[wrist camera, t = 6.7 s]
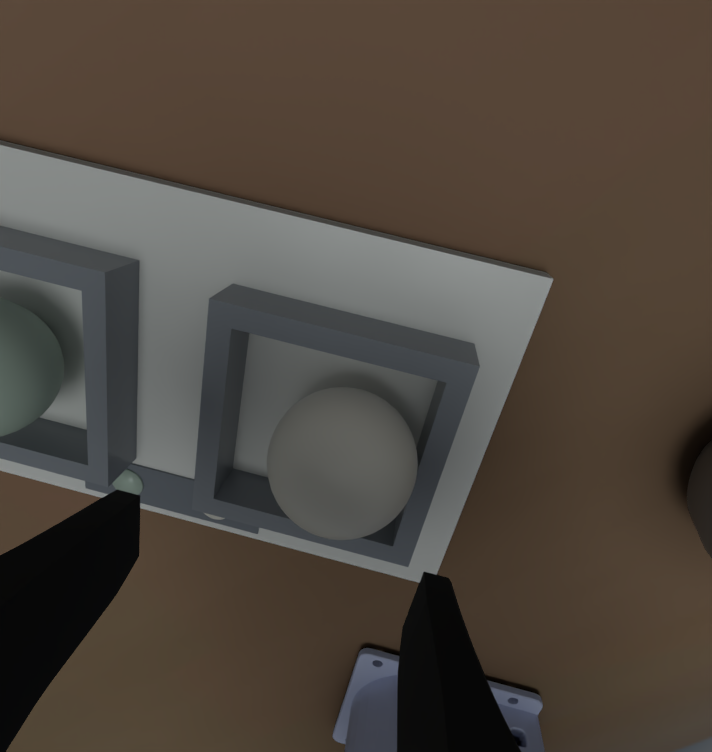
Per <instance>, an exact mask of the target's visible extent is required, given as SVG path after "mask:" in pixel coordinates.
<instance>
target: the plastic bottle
mask: <svg viewBox="0 0 712 752" xmlns="http://www.w3.org/2000/svg"><path fill="white" fill-rule="evenodd" d="M686 496H687V506H688V510H689V513H690V516H691V518H692V521H693V523H694V525H695V527H696V530H697V532H698V534H699V537H700V539H701V541H702V543H703V546H704V548H705V550H706V551H707V553H708V554H709V555H710V557H711V558H712V440H711V441H710V442H709V443H708V444H707V445H706V446H705V447H704V448H703V450H702V451H701V453H700V454H699V456H698V457H697V459H696V462H695V464H694V466H693V469H692V472H691V475H690V478H689V482H688V488H687V495H686Z"/></svg>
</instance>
